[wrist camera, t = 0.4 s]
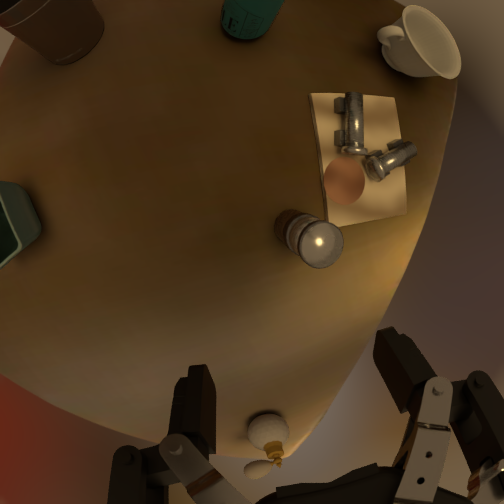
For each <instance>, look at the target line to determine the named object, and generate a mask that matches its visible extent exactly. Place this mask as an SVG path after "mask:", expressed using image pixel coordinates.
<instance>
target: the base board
mask: <svg viewBox="0 0 504 504" xmlns="http://www.w3.org/2000/svg"><path fill="white" fill-rule="evenodd" d="M308 96H309V102H310V107H311V113H312V119H313V125H314V131H315V137H316V144H317V151H318V158H319V165H320V173H321V181H322V190H323V199H324V209H325V220H326V221H328V222H331V223H333V224H335V225H336V226H337V227H340V226H345V225H351V224H356V223H361V222H366V221H371V220H377V219H382V218H387V217H393V216H398V215H403V214H407V203H406V184H405V171H404V166H402V167H396V168H395V169H393V170H391V171H390V174H389V175H387V176H386V178H385V179H384V180H382V181H380V182H376V181H374V180H373V179H372V178H371V177H370V176H369V175H368V173H367V171H366V168H365V160H366V158H365V156H355V155H346V154H342V153H341V147H339V146H334V131H336V130H345V115H342V114H336V113H334V99H335V98H337V97H344V98H345V94H339V93H310V94H309V95H308ZM363 108H364V148H367V149H368V153H370V152H372V151H373V150H381V151H382V153H383V154H385V153H387V152H388V151H389V149H388V147H387V143H389V142H391V141H393V140H395V139H401V135H400V128H399V122H398V116H397V110H396V105H395V99H394V98H391V97H382V96H371V95H363Z"/></svg>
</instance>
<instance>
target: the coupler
mask: <svg viewBox="0 0 504 504" xmlns="http://www.w3.org/2000/svg"><path fill="white" fill-rule="evenodd" d="M274 230H275V233H276V235H277V237H278V238H279V239H280V240H281V241H282V242H284V243H285V244H286V246H287V247H288V248H289V249H290V250H291V251H292V252H294V253H295V254H296V255H298V256H300V257H301V259H302V260H303V261H304V262H305V263H306V264H308V265H309V266H311V267H313V268H318V269H319V268H326V267H328V266H330V265H332V264H333V263H334V262H335V261H336V260H337V259H338V258H339V256H340V255H341V252H342V249H343V235H342V233H341V231H340V229H339V228H338V227H337V226H336V225H335V224H333V223H331V222H328V221H325V220H320V219H319V218H318V217H316V216H313V215H311V214H308V213H302V212H300V211H297V210H293V209H290V210H286V211H283V212H282V213H281V214H279V216H278V217H277V218H276V221H275V224H274Z"/></svg>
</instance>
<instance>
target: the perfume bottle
mask: <svg viewBox="0 0 504 504" xmlns="http://www.w3.org/2000/svg"><path fill="white" fill-rule="evenodd" d="M288 437H289V427H288V425H287V423H286V421H285V420H284V419H283V418H281V417H280V416H278V415H275V414H264V415H261V416H258V417H256V418H255V419H254V420H253V421H252V422H251V423H250V425H249V427H248V438H249V440H250V442H251V443H252V445H253V446H254V447H256V448H258V449H260V450H263V451H266V454H267V457H268V458H269V459H274V461H273V462H270V461H267V460H257V461H253V462H250V463H249V464H247V465H246V466H245V467H244V474H245V475H246V477H248V478H250V479H258V478H261V477H263V476H264V475H266V474H267V473H268V472H269V471H270V470H271V468H272V466H273V464H277V466H279V467H281V462H282V459H281V458H280V457H281V456H283V455H284V451H283V449H282V446H283V445H284V444H285V443H286V441H287V439H288Z"/></svg>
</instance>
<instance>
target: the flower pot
mask: <svg viewBox="0 0 504 504" xmlns="http://www.w3.org/2000/svg"><path fill="white" fill-rule="evenodd" d="M40 233H41V223H40V221H39V218H38V216H37V214H36V212H35V210H34V207H33V205H32V202H31V200H30V198H29V196H28V194H27V193H26V191H25V190H24V189H23V188H22V187H21V186H20V185H18V184H16V183H12V182H5V181H0V269H2V268H3V267H4V266H5V265H6V264H7V263H9V262H10V261H11V260H12V259H13V258H14V257H15V256H16V255H17V254H18V253H19V252H21V251H22V250H23V249H24V248H25V247H27V246H28V245H29V244H30V243H32V242H33V241H34V240H35V239H36V238H37V237H38V236H39V235H40Z"/></svg>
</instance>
